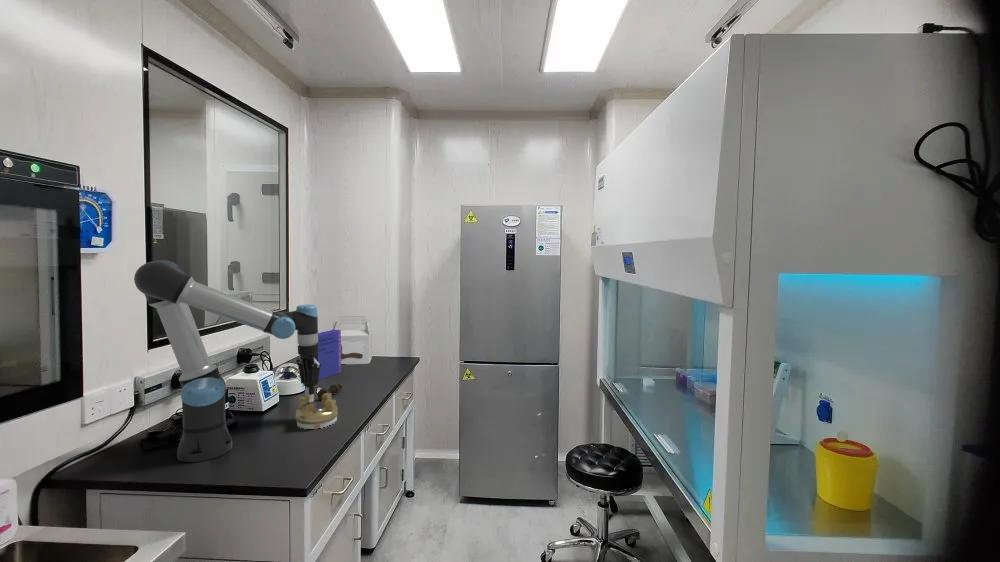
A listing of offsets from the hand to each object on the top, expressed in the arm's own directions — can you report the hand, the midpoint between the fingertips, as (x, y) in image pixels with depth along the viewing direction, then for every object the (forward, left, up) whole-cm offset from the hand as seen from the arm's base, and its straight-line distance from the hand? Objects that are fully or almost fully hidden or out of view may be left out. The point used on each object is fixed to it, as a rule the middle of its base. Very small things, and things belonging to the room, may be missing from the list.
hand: (309, 401), depth 172 cm
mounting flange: (-1, -6, -7) cm, 9 cm away
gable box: (+68, +62, -7) cm, 93 cm away
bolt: (+22, +17, -7) cm, 29 cm away
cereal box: (+40, +47, -7) cm, 63 cm away
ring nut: (-1, -6, -4) cm, 8 cm away
